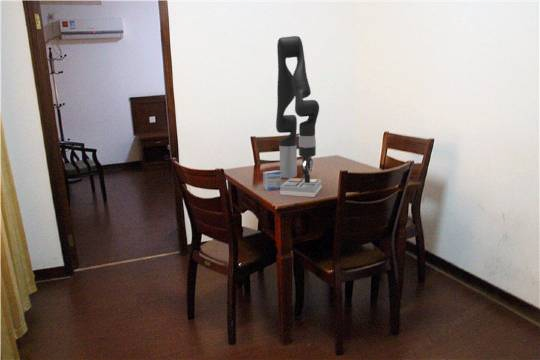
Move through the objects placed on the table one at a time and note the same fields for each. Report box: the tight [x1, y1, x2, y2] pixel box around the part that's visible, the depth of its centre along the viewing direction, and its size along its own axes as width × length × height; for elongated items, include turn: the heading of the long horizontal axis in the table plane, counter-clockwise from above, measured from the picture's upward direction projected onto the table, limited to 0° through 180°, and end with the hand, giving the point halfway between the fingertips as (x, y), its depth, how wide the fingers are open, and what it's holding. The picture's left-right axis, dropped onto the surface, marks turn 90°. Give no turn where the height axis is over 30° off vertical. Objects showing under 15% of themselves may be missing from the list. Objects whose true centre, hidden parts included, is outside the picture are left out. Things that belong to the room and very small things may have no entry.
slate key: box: [285, 182, 298, 187], centre depth 188 cm, size 5×5×2 cm
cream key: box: [309, 178, 318, 183], centre depth 192 cm, size 5×5×2 cm
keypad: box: [279, 178, 323, 198], centre depth 191 cm, size 16×16×4 cm
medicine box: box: [262, 169, 282, 192], centre depth 196 cm, size 8×4×9 cm, turn 114°
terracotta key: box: [290, 177, 303, 183], centre depth 195 cm, size 5×5×2 cm
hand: (307, 182), depth 186 cm, fingers closed
